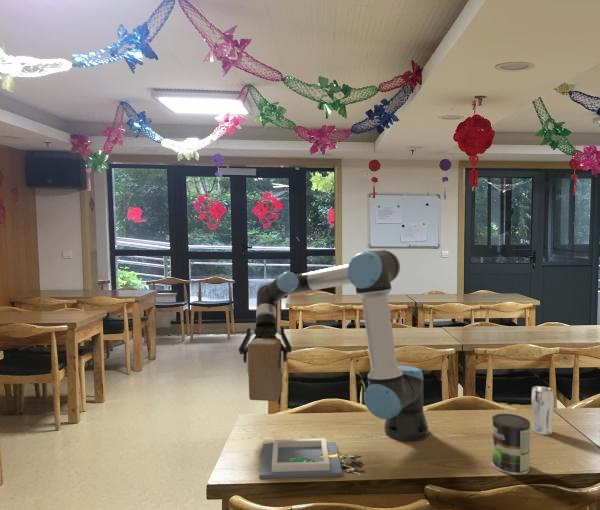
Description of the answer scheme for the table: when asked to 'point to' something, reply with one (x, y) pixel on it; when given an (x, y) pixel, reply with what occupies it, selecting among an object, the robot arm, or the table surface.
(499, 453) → the coffee can
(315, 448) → the grey square frame tray
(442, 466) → the table surface
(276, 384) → the block
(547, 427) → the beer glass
